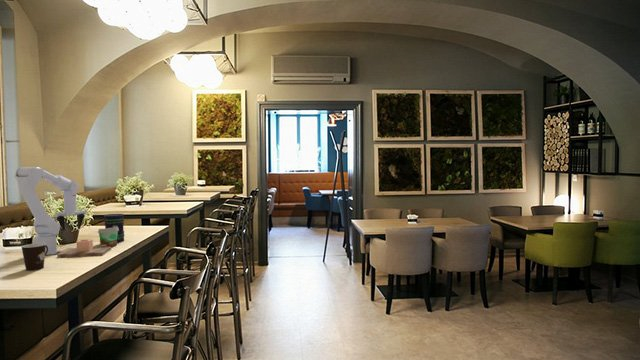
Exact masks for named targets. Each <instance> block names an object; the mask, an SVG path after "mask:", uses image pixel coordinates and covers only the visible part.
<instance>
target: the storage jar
mask: <svg viewBox="0 0 640 360" xmlns="http://www.w3.org/2000/svg"><path fill="white" fill-rule="evenodd" d="M124 221H125V220H124V214H123V213H108V214H104V227H105V228H104V229H106V228H112V227H113V226H118V229H119V231H117V244H118V243H124V242H125V230H124V224H125V222H124Z"/></svg>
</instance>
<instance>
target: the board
mask: <svg viewBox="0 0 640 360" xmlns="http://www.w3.org/2000/svg"><path fill="white" fill-rule="evenodd" d="M111 250H112V247H101V246H93V249H92V250H91V251H85V252H77V247H75V248H72V247H70V248H66V249H65V250H63V251H60V252H58V253H56V255H57V257H60V258H74V257H75V258H76V257H78V258H79V257H98V256H99V257H101V256H104V255H106V254H107V253H109V252H110V251H111ZM57 257H56V258H57Z"/></svg>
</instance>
